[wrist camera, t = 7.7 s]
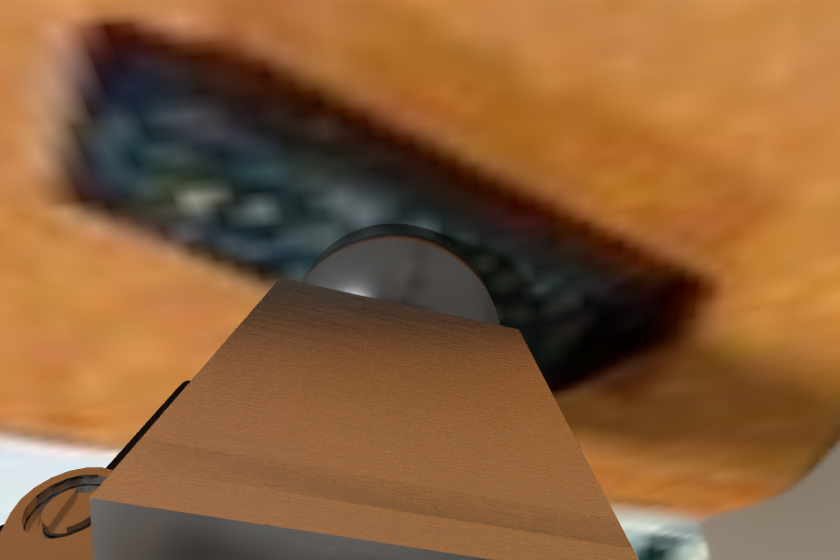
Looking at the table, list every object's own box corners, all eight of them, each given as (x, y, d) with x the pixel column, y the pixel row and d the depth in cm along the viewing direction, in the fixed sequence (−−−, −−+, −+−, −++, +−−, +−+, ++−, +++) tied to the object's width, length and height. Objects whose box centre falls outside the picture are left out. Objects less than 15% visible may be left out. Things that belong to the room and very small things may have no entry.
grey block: (280, 277, 9) (89, 497, 4) (518, 329, 10) (650, 584, 4) (256, 465, 12) (108, 784, 6) (454, 498, 12) (490, 816, 7)
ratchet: (387, 604, 21) (378, 763, 16) (255, 584, 21) (200, 745, 15) (515, 250, 14) (576, 329, 9) (317, 201, 13) (252, 255, 8)
